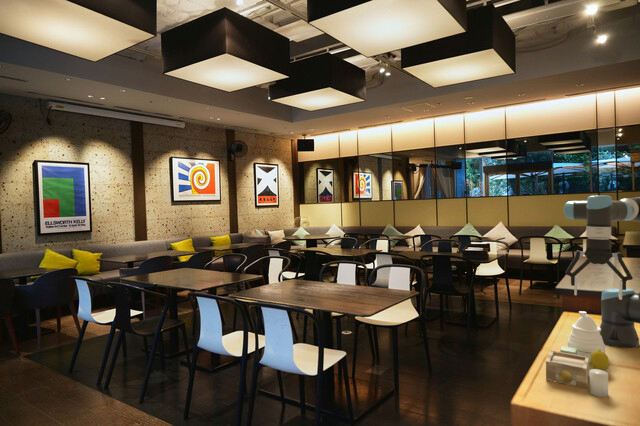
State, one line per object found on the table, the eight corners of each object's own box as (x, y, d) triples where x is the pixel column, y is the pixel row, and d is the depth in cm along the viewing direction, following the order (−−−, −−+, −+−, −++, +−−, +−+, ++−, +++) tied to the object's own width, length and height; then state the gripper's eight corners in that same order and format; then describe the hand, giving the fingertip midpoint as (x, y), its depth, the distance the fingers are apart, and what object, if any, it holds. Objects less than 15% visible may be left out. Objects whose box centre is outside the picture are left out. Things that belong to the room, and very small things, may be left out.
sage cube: (562, 358, 168) (562, 345, 167) (576, 361, 165) (576, 348, 164) (560, 362, 164) (560, 349, 163) (575, 365, 161) (575, 352, 160)
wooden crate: (550, 368, 158) (550, 350, 158) (588, 376, 151) (589, 357, 151) (545, 381, 148) (545, 361, 148) (586, 389, 141) (586, 369, 141)
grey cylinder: (601, 389, 141) (601, 368, 140) (611, 396, 136) (611, 375, 135) (586, 390, 140) (586, 369, 140) (596, 397, 135) (596, 375, 135)
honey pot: (591, 364, 161) (591, 317, 160) (559, 353, 173) (559, 309, 172) (612, 358, 166) (613, 313, 165) (581, 348, 178) (581, 305, 177)
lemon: (603, 375, 151) (603, 353, 151) (587, 370, 156) (587, 348, 155) (611, 372, 153) (612, 350, 153) (596, 367, 158) (596, 346, 158)
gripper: (558, 237, 156) (557, 294, 157) (643, 240, 144) (641, 303, 144) (559, 236, 163) (558, 291, 163) (639, 239, 150) (638, 298, 151)
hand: (597, 296), depth 154 cm, fingers open, 13 cm apart
